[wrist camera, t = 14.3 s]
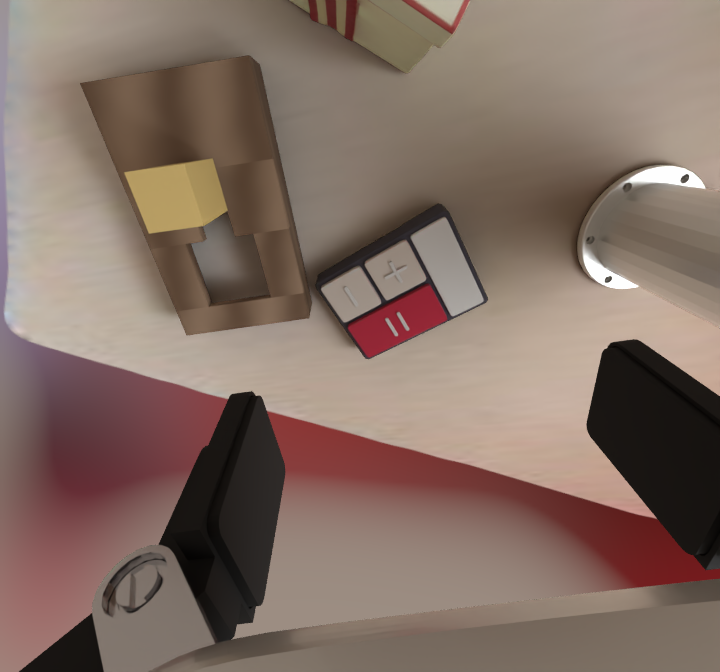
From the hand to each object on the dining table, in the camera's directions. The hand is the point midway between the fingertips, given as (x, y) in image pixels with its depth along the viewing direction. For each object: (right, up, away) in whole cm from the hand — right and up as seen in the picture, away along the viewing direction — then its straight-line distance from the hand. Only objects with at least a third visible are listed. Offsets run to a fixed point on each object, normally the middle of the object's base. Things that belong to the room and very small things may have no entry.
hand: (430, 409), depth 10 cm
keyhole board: (-15, +14, +26) cm, 33 cm away
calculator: (+2, +8, +31) cm, 32 cm away
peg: (-16, +17, +25) cm, 34 cm away
